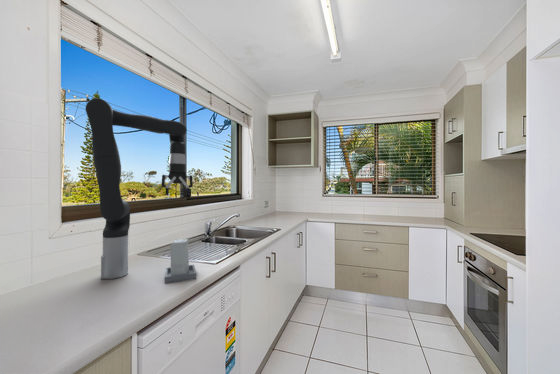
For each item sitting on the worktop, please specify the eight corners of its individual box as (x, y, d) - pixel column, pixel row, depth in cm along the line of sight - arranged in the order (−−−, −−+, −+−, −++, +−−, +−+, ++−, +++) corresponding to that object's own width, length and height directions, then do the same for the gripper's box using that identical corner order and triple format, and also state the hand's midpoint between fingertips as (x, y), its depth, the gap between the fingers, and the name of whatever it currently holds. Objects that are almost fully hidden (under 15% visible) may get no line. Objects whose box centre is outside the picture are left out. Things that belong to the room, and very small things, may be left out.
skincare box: (185, 277, 102) (185, 242, 102) (169, 278, 101) (170, 243, 101) (188, 271, 110) (189, 238, 110) (174, 271, 109) (175, 238, 109)
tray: (164, 283, 98) (164, 277, 98) (165, 273, 109) (165, 267, 109) (196, 279, 103) (196, 273, 103) (194, 269, 114) (194, 264, 114)
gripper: (161, 162, 115) (161, 196, 115) (193, 163, 120) (192, 196, 120) (162, 163, 122) (162, 195, 122) (192, 164, 127) (192, 195, 127)
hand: (177, 195), depth 121 cm, fingers open, 8 cm apart
